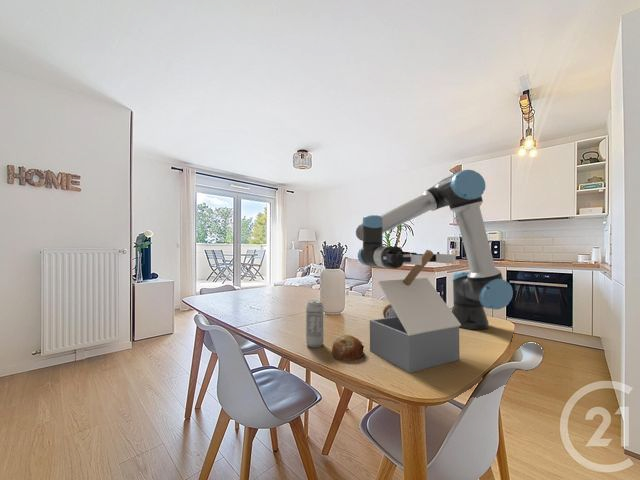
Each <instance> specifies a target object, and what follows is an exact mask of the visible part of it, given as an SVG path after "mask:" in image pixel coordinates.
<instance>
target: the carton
mask: <svg viewBox="0 0 640 480" xmlns="http://www.w3.org/2000/svg"><path fill="white" fill-rule="evenodd" d="M369 351H370V352H371V353H374V354H375V355H377V356H378V357H380V358H382V359H383V360H386V362H387V361H388V362H389V363H391V364H393V365H395V366H397V367H398V368H400V369H401V370H403V371H405V372H407V373H408V374H409V373H415V372H418V371H419V372H420V371H421V370H425V369H429V368H433V367H436V366H441V365H445V364H448V363H452V362H457V361H459V360H460V358H461V357H460V327H453V328H448V329H443V330H437V331H432V332H426V333H421V334H416V335H410V336H408V334H407V332H406V330H405V329H404V327H403V325H402V323H401V322H400V320H399V318H398V316H396V317H389V318H384V317H383V318H377V319H376V318H375V319H370V320H369Z"/></svg>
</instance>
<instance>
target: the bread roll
mask: <svg viewBox="0 0 640 480" xmlns="http://www.w3.org/2000/svg"><path fill="white" fill-rule="evenodd" d="M332 344H333V345H332V347H331V354H332V355H333V357H334V358H335V359H338V360H342V361H350V360H358V359H359V358H361V357H362V356H363V355H364V348H365V346H364V345H363V343H362V341H361V340H360V339H359V338H358V337H355V336H354V335H350V334H345V333H343V334H341V335H339V336H337V337H336V338H335V339H334V341H333V343H332Z"/></svg>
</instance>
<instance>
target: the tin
mask: <svg viewBox="0 0 640 480" xmlns="http://www.w3.org/2000/svg"><path fill="white" fill-rule="evenodd" d="M382 315H383V318H389V317H396V316H397V315H396V313H395V311H394V309H393V308H392V306H391V304H390V303H389V304H387V305H386V306H385V307H384V308H383V310H382Z"/></svg>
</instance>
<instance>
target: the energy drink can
mask: <svg viewBox="0 0 640 480" xmlns="http://www.w3.org/2000/svg"><path fill="white" fill-rule="evenodd" d="M305 309H306V310H305V312H306V313H305V318H306V319H305V321H306V322H305V327H306V329H305V334H306V335H305V340H306V341H305V342H306V344H307V347H308V348H309V347H310V348H320V347H322V345H323V344H324V306H323V304H322V301H320V300H309V301H307V305H306V306H305Z"/></svg>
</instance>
